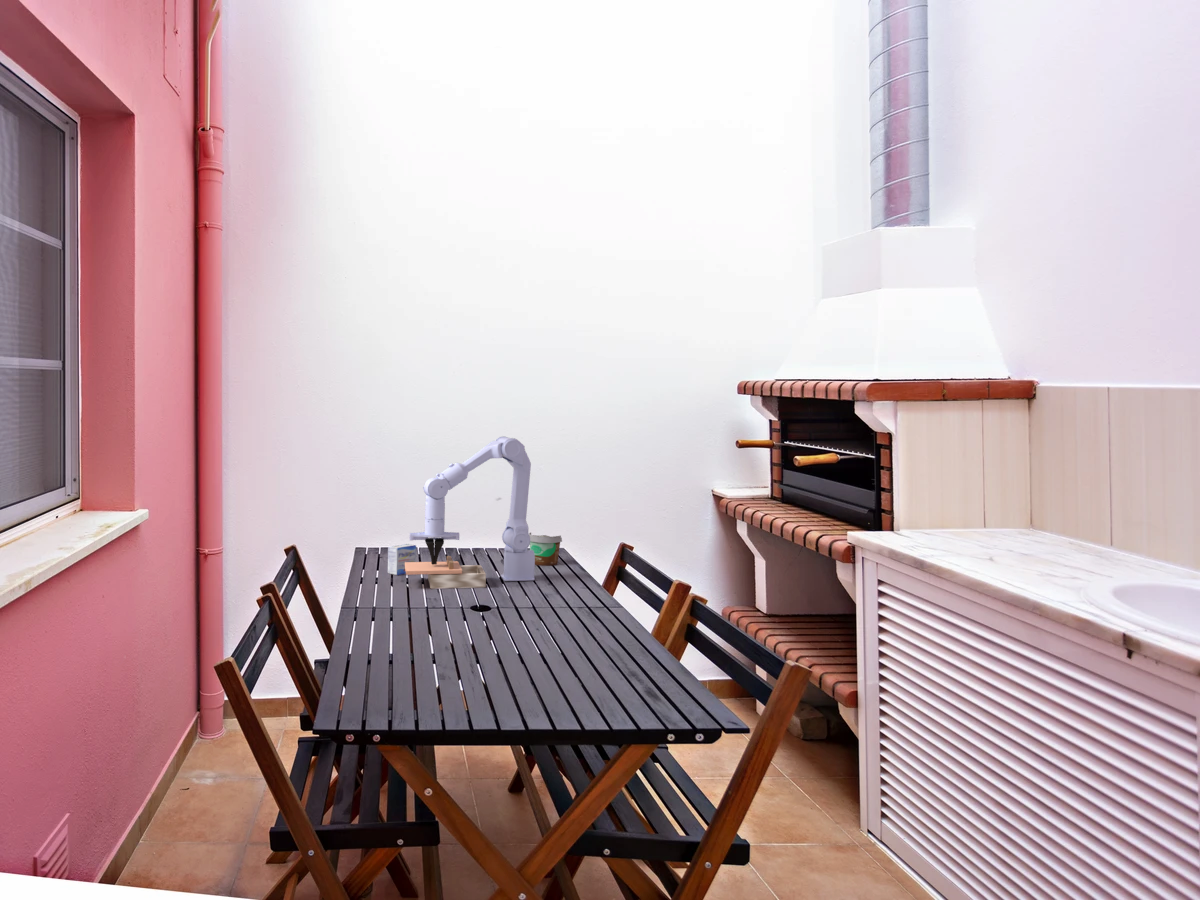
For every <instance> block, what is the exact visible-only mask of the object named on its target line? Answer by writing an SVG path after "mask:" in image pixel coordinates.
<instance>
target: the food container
mask: <svg viewBox="0 0 1200 900" xmlns="http://www.w3.org/2000/svg"><path fill="white" fill-rule="evenodd" d="M528 533H529V536H530V545H529V550H533V551H534V555H535V566H541V567H549V566H551V567H552V566H557V565H558V561H559V556H560V555H559V554H560V547H561V542H563V538H562V535H555V536H554V535H553V536H550V535H546V534H545V535H543V534H542V535H535V534H532V532H528Z"/></svg>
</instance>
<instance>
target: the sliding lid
mask: <svg viewBox="0 0 1200 900" xmlns="http://www.w3.org/2000/svg"><path fill="white" fill-rule="evenodd" d="M460 566H461V565H460V563H459V561H454V560H453V558H452V556H451V555H446V561H437V564H432V563H431V561H416V562H405V571H406V574H405V575H406V576H407V575H408V576H410V575H428V574H462V569H461V567H460Z"/></svg>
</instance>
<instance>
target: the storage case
mask: <svg viewBox="0 0 1200 900" xmlns="http://www.w3.org/2000/svg"><path fill="white" fill-rule="evenodd" d="M460 567H461V569H462V574H427V580H428V584H429V588H430V589H431V590H435V589H439V590H440V589H475V588H486V586H487V583H486V582H487V580H486V579H487V578H486V577H487V574H486V572H485V570H484V568H483V566H482V565H479V564H475V565H474V564H473V565H470V564H469V565H460Z"/></svg>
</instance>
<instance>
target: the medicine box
mask: <svg viewBox="0 0 1200 900" xmlns="http://www.w3.org/2000/svg"><path fill="white" fill-rule="evenodd" d="M405 562H417V545H416V544H412V543H404V544H398V545H397V544H396V545H390V546H388V547H387V574H390V575H392V576H401V575H406V571H405Z"/></svg>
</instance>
